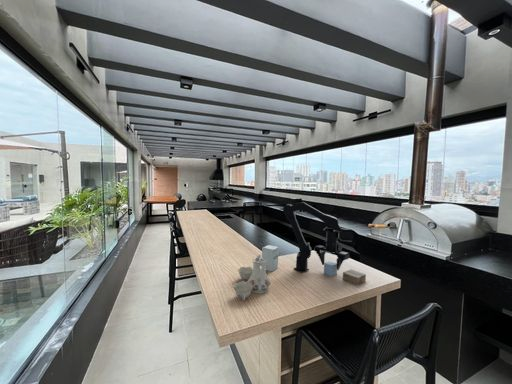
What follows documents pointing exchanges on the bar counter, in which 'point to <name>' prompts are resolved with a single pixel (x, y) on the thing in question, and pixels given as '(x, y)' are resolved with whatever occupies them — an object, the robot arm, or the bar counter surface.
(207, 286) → the bar counter surface
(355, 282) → the walnut block
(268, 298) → the bar counter surface
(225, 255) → the bar counter surface
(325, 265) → the slate block
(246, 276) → the grey lumpy piece
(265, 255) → the supplement box
